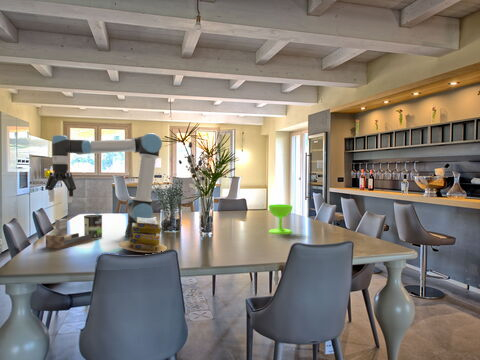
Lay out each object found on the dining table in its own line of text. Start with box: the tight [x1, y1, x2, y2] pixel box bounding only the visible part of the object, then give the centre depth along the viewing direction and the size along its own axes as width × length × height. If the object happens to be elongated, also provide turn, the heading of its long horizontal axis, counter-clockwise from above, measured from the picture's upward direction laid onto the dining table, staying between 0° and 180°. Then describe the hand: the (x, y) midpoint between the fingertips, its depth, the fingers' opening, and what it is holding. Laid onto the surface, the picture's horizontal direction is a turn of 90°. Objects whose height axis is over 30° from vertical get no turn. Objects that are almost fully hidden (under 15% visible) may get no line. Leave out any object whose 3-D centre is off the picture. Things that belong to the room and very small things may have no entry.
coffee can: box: [83, 214, 103, 241], centre depth 211 cm, size 10×10×14 cm
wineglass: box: [268, 203, 293, 235], centre depth 232 cm, size 16×16×18 cm
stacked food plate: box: [118, 216, 168, 253], centre depth 181 cm, size 25×25×17 cm
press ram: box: [54, 218, 72, 240], centre depth 190 cm, size 8×7×13 cm
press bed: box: [45, 232, 93, 250], centre depth 195 cm, size 12×21×6 cm, turn 158°
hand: (60, 202), depth 189 cm, fingers open, 13 cm apart
